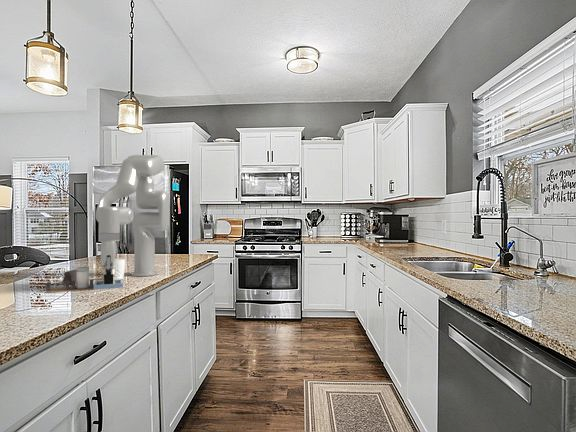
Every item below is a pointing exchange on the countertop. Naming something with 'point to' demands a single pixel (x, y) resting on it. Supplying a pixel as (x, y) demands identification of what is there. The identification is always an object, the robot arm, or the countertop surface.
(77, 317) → the countertop surface
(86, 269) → the grey rounded cylinder
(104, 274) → the marked fuse
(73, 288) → the fuse holder
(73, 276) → the perforated stone tool
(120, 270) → the white cup
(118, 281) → the tray
